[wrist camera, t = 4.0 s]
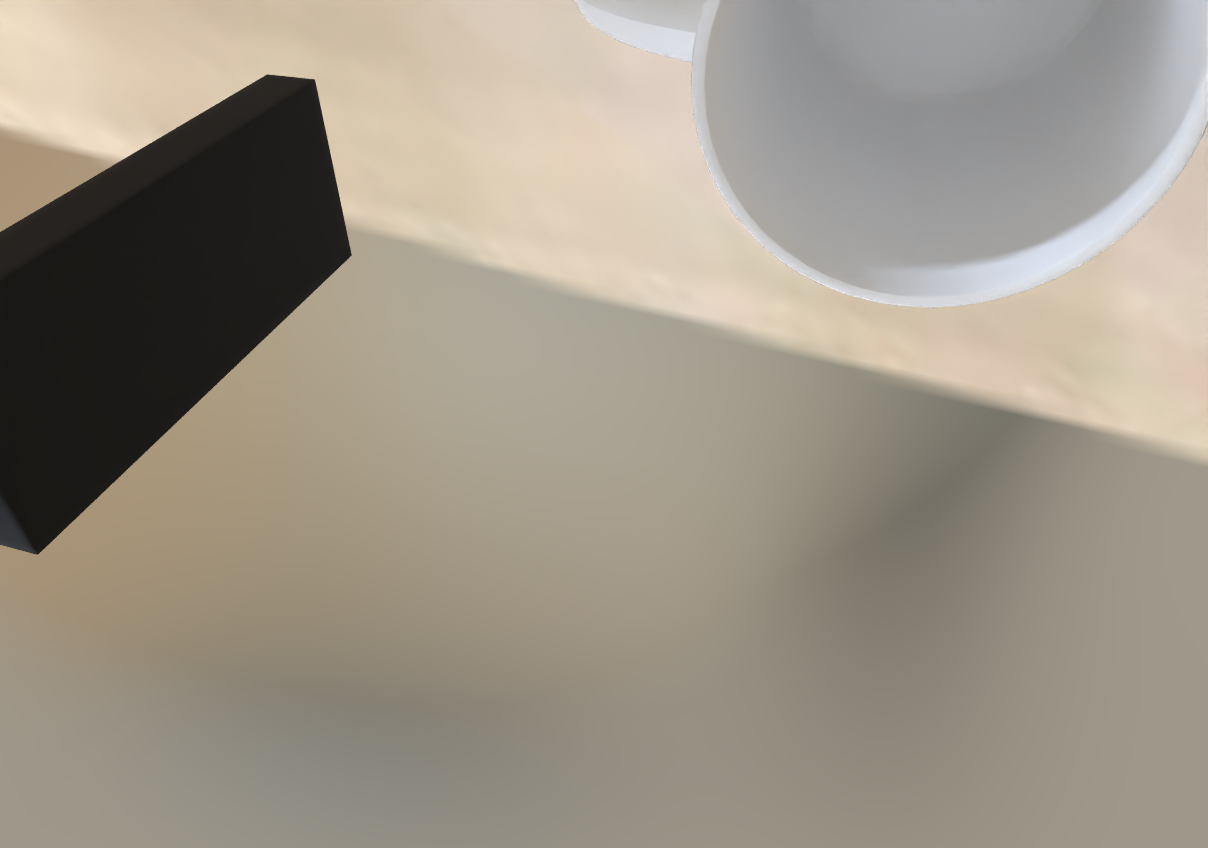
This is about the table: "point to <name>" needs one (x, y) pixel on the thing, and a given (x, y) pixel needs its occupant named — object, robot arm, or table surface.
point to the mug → (934, 129)
